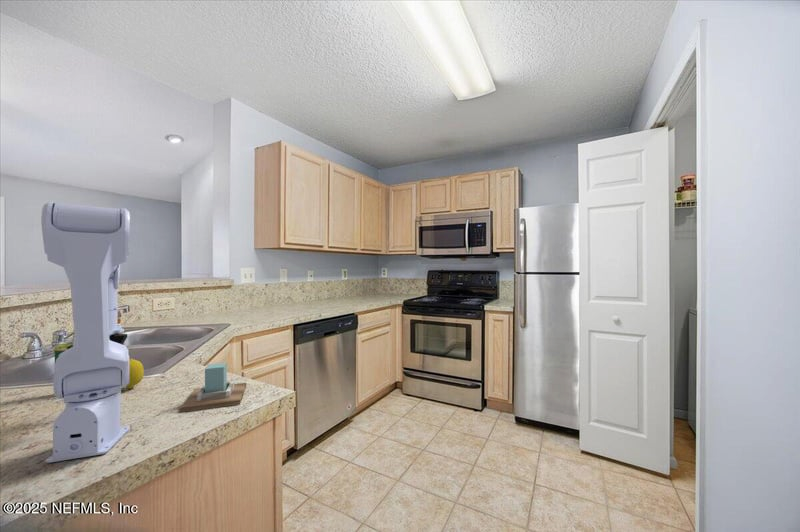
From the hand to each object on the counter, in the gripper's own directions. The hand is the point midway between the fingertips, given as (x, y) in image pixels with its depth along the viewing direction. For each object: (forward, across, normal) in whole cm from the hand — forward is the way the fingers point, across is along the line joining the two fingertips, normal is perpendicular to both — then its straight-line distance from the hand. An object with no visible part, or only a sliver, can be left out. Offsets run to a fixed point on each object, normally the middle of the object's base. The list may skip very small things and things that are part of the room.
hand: (99, 372), depth 69 cm
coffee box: (+10, +19, +13) cm, 25 cm away
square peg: (+8, +2, -22) cm, 24 cm away
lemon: (+10, +17, +1) cm, 20 cm away
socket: (+9, +2, -22) cm, 24 cm away
